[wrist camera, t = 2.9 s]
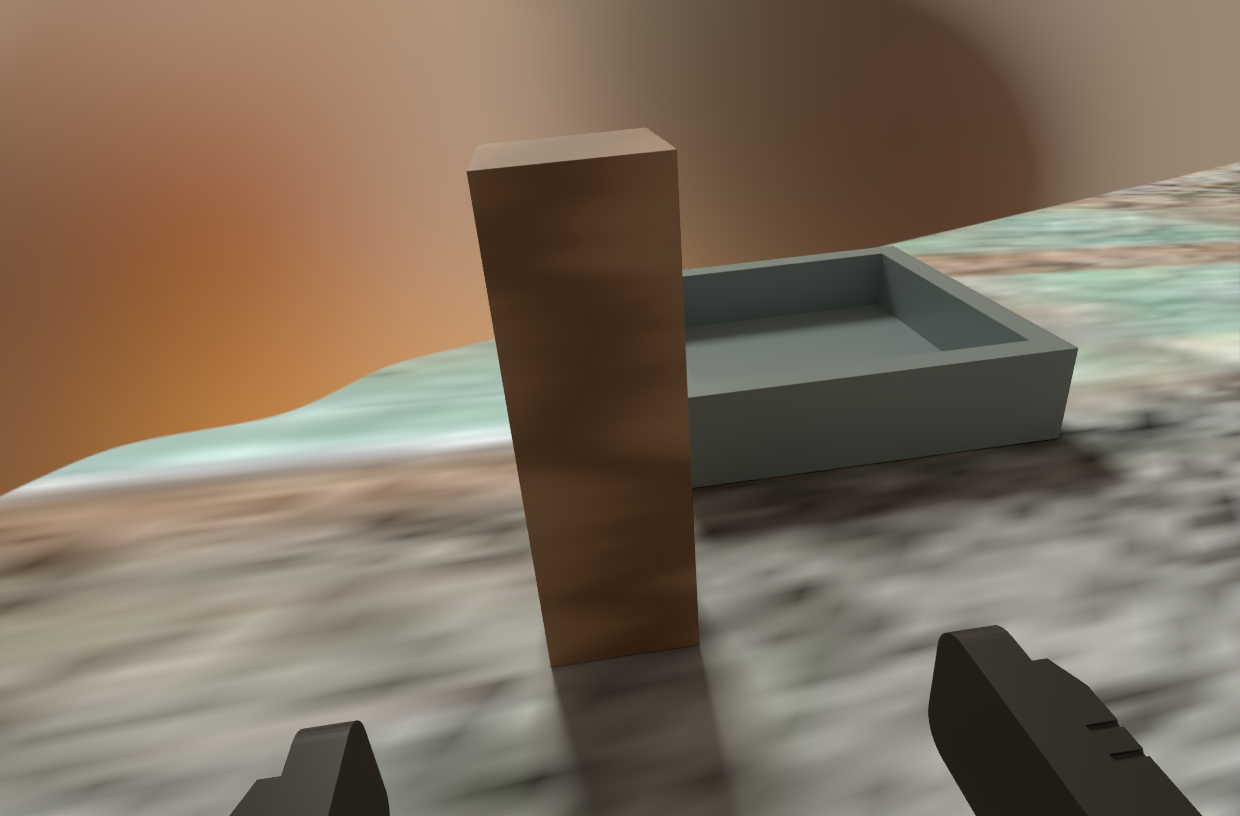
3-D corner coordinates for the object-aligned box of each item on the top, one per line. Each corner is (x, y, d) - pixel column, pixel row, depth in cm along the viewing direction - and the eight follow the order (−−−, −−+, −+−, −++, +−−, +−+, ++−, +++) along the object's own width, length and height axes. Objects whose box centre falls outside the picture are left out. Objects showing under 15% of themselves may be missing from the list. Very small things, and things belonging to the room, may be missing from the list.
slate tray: (887, 311, 44) (892, 245, 43) (1058, 437, 30) (1078, 347, 28) (624, 343, 43) (618, 277, 42) (674, 490, 29) (669, 400, 27)
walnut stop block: (672, 553, 26) (645, 127, 19) (699, 644, 22) (677, 149, 16) (546, 570, 25) (477, 144, 19) (551, 667, 22) (466, 171, 15)
